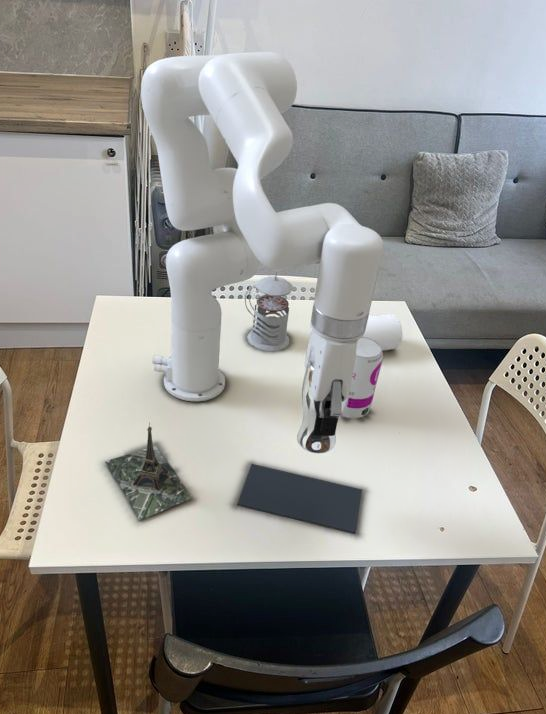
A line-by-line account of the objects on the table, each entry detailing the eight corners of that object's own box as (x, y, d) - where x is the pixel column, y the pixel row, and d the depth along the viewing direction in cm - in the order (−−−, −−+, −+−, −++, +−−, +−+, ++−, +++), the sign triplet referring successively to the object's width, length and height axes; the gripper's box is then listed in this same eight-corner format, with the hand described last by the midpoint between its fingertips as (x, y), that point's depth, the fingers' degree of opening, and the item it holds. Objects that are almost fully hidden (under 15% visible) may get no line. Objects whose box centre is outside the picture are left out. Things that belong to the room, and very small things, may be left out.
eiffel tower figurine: (102, 463, 111) (97, 404, 103) (155, 445, 116) (154, 387, 108) (139, 522, 102) (136, 462, 94) (194, 499, 107) (197, 441, 98)
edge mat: (237, 505, 106) (237, 503, 106) (251, 465, 114) (251, 463, 114) (355, 534, 104) (355, 532, 103) (361, 490, 111) (362, 489, 111)
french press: (276, 356, 142) (289, 252, 126) (232, 338, 146) (239, 235, 130) (297, 337, 148) (312, 236, 133) (255, 320, 153) (264, 221, 137)
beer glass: (291, 425, 102) (303, 348, 93) (333, 425, 103) (350, 349, 94) (297, 455, 97) (310, 377, 87) (342, 455, 98) (360, 378, 88)
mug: (397, 355, 146) (406, 325, 141) (359, 361, 143) (366, 331, 138) (373, 327, 154) (379, 298, 149) (336, 332, 151) (341, 303, 146)
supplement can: (374, 402, 131) (389, 342, 122) (362, 425, 125) (377, 363, 116) (337, 390, 134) (349, 329, 124) (323, 412, 128) (335, 350, 118)
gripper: (303, 285, 92) (289, 384, 104) (322, 354, 79) (303, 458, 90) (353, 287, 93) (334, 384, 104) (381, 355, 80) (355, 458, 91)
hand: (320, 418), depth 97 cm, fingers closed on beer glass, 6 cm apart
